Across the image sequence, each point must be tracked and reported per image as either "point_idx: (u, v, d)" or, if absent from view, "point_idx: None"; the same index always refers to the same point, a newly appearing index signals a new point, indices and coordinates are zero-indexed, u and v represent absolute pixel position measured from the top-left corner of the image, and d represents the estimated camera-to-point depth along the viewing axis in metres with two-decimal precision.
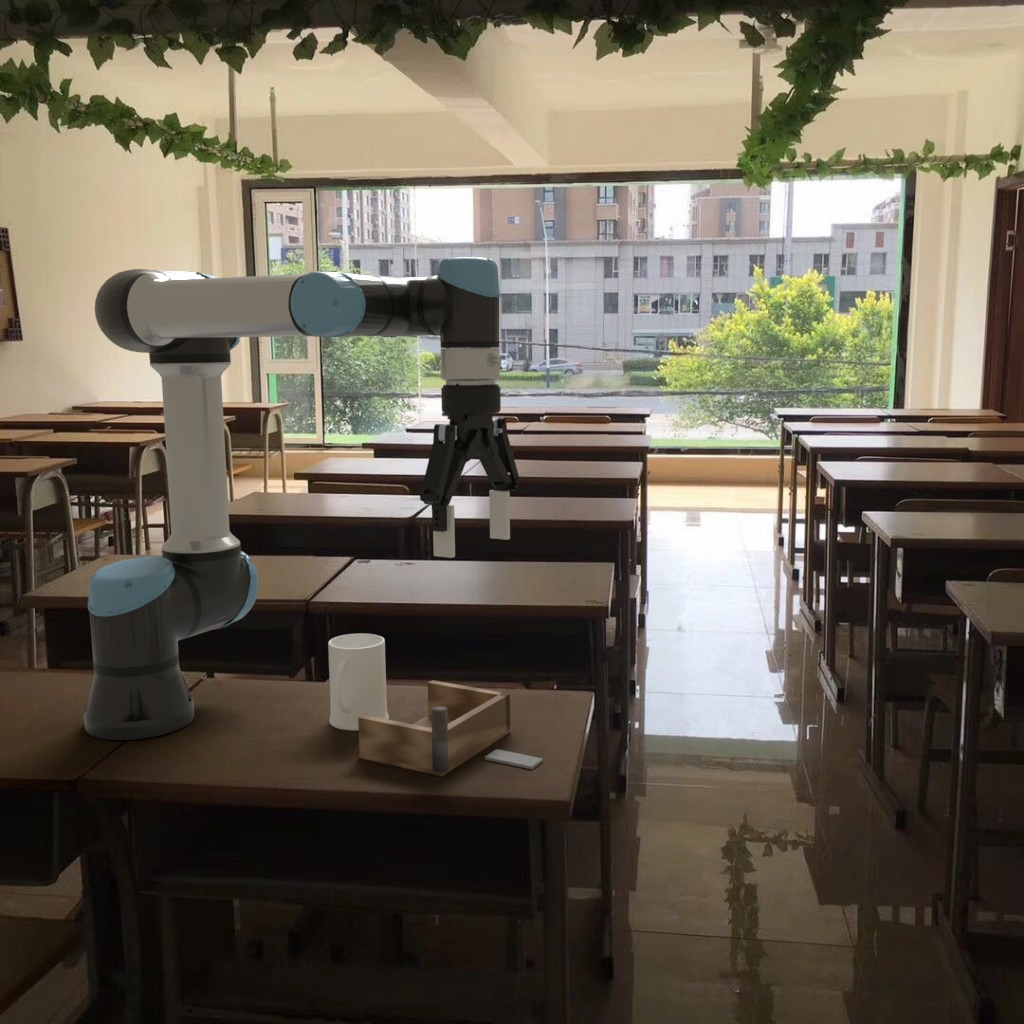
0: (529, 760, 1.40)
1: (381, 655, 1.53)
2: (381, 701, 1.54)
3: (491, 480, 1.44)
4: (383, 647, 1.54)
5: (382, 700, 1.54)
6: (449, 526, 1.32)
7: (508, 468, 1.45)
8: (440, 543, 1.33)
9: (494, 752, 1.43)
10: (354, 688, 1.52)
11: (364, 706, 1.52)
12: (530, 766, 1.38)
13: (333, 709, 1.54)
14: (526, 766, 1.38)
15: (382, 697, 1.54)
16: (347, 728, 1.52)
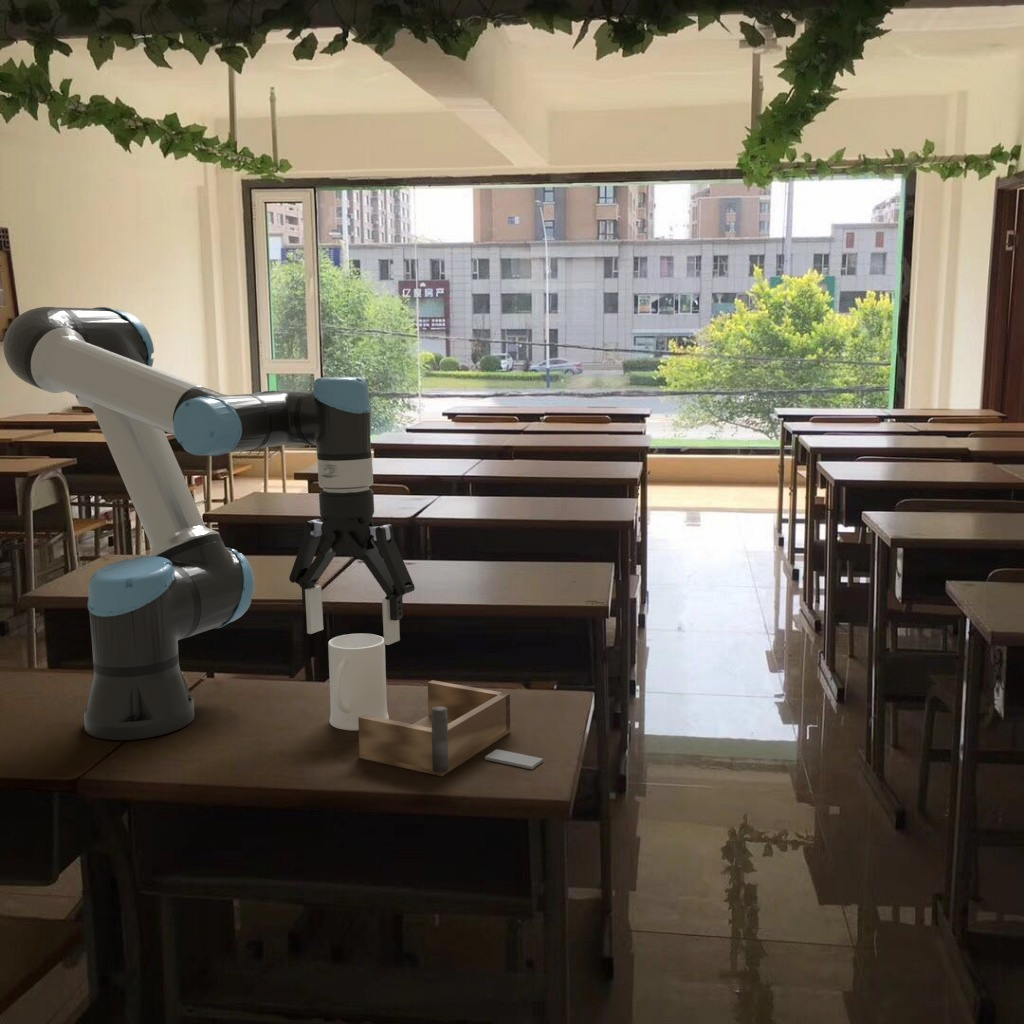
0: (529, 760, 1.40)
1: (381, 655, 1.53)
2: (381, 701, 1.54)
3: None
4: (383, 647, 1.54)
5: (382, 700, 1.54)
6: None
7: None
8: None
9: (494, 752, 1.43)
10: (354, 688, 1.52)
11: (364, 706, 1.52)
12: (530, 766, 1.38)
13: (333, 709, 1.54)
14: (526, 766, 1.38)
15: (382, 697, 1.54)
16: (347, 728, 1.52)
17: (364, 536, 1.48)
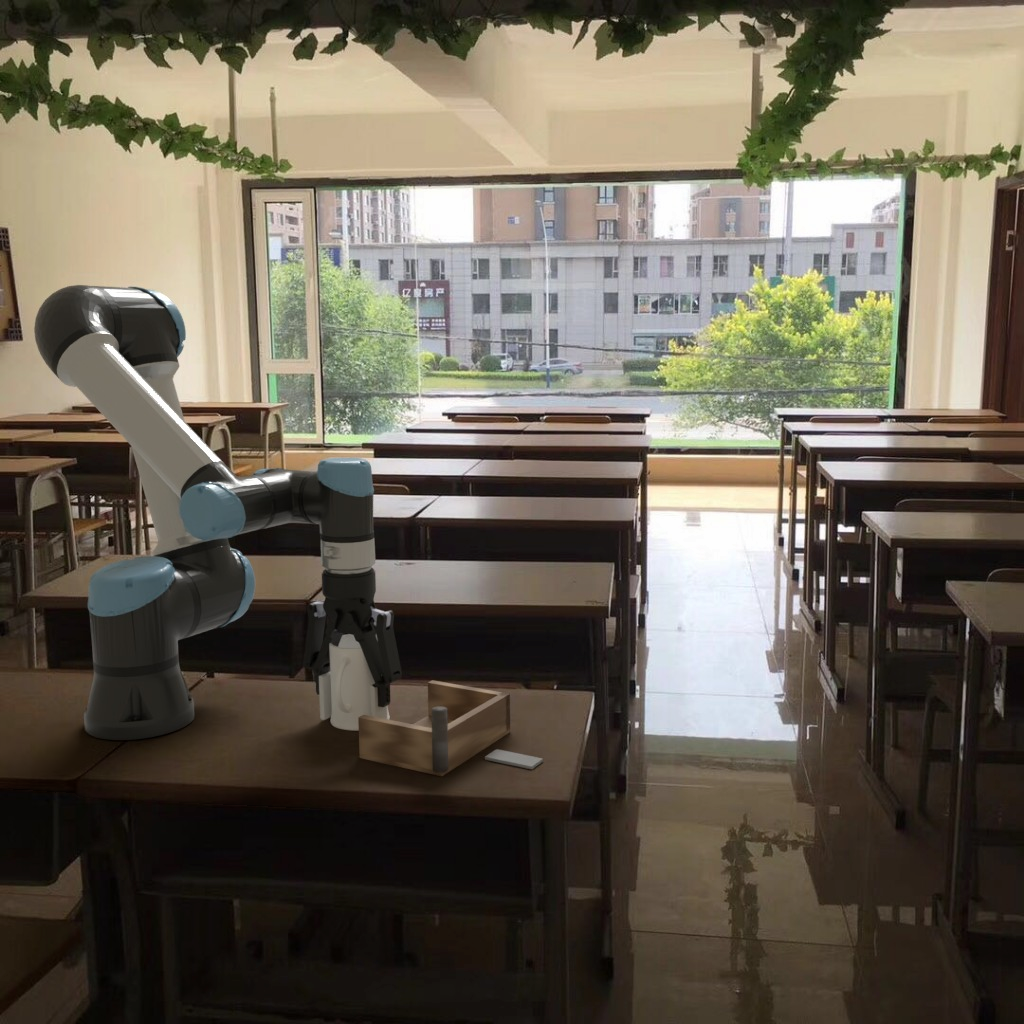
0: (529, 760, 1.40)
1: None
2: None
3: None
4: None
5: None
6: None
7: None
8: None
9: (494, 752, 1.43)
10: (355, 688, 1.51)
11: (365, 706, 1.52)
12: (530, 766, 1.38)
13: (334, 709, 1.54)
14: (526, 766, 1.38)
15: None
16: (348, 728, 1.52)
17: (365, 617, 1.50)
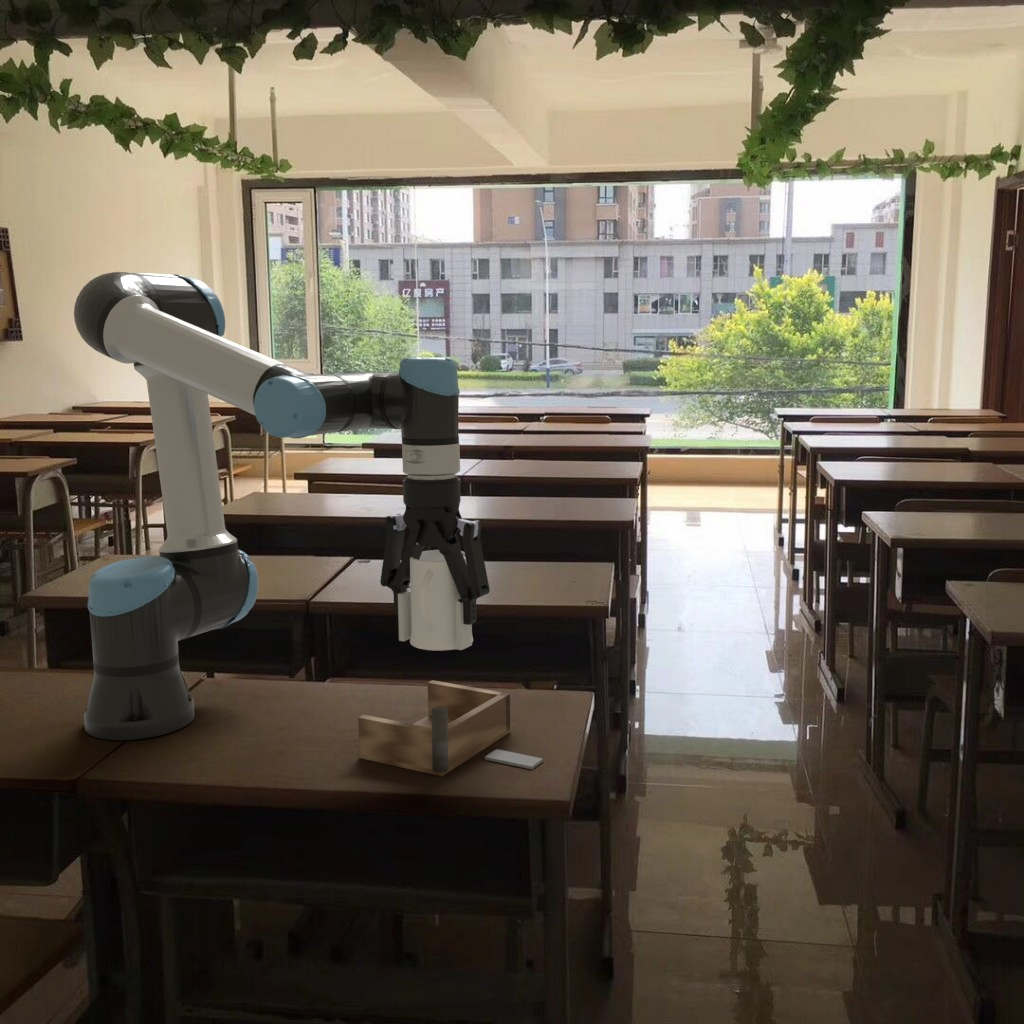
0: (529, 760, 1.40)
1: None
2: None
3: None
4: None
5: None
6: None
7: None
8: None
9: (494, 752, 1.43)
10: (439, 604, 1.41)
11: (450, 624, 1.42)
12: (530, 766, 1.38)
13: (415, 628, 1.43)
14: (526, 766, 1.38)
15: None
16: (431, 648, 1.42)
17: (450, 527, 1.39)
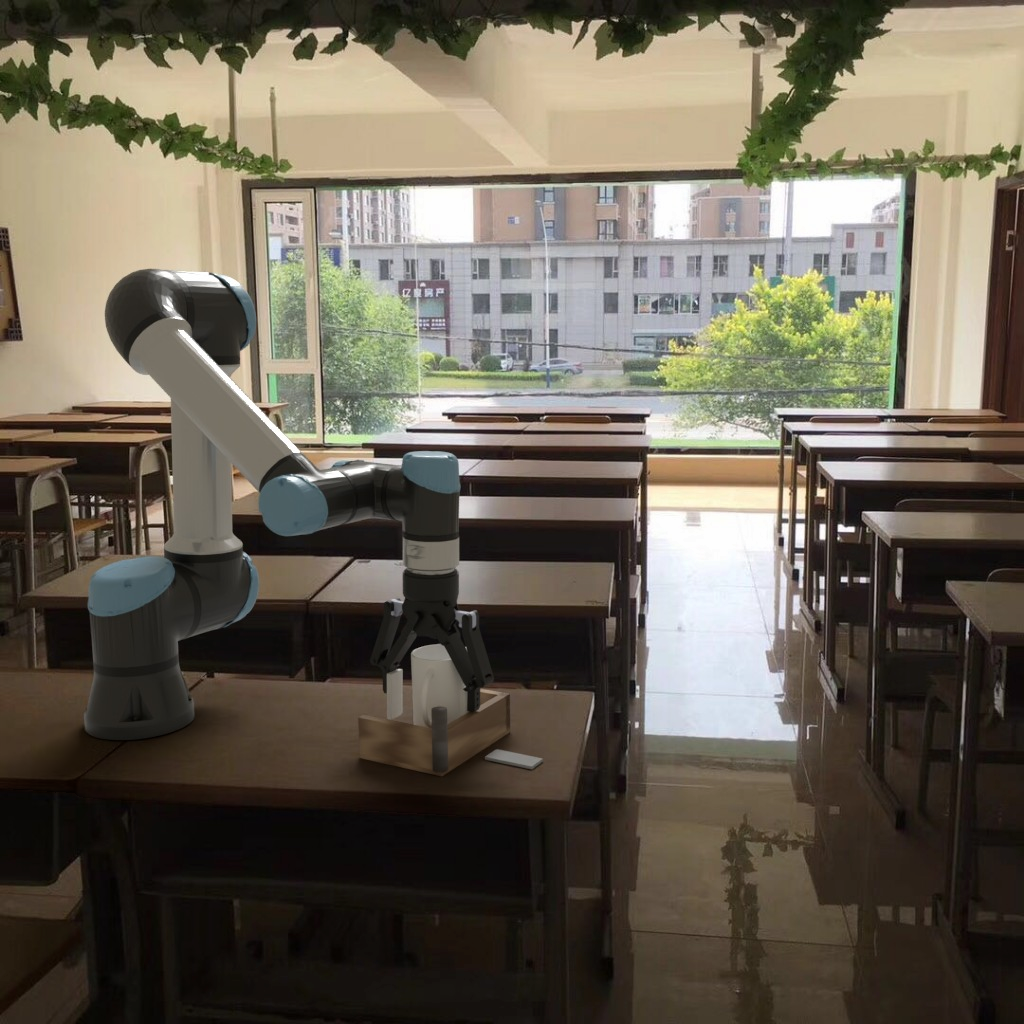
0: (529, 760, 1.40)
1: None
2: None
3: None
4: None
5: None
6: None
7: None
8: None
9: (494, 752, 1.43)
10: (440, 702, 1.43)
11: (451, 721, 1.44)
12: (530, 766, 1.38)
13: (417, 724, 1.45)
14: (526, 766, 1.38)
15: None
16: None
17: (448, 620, 1.42)
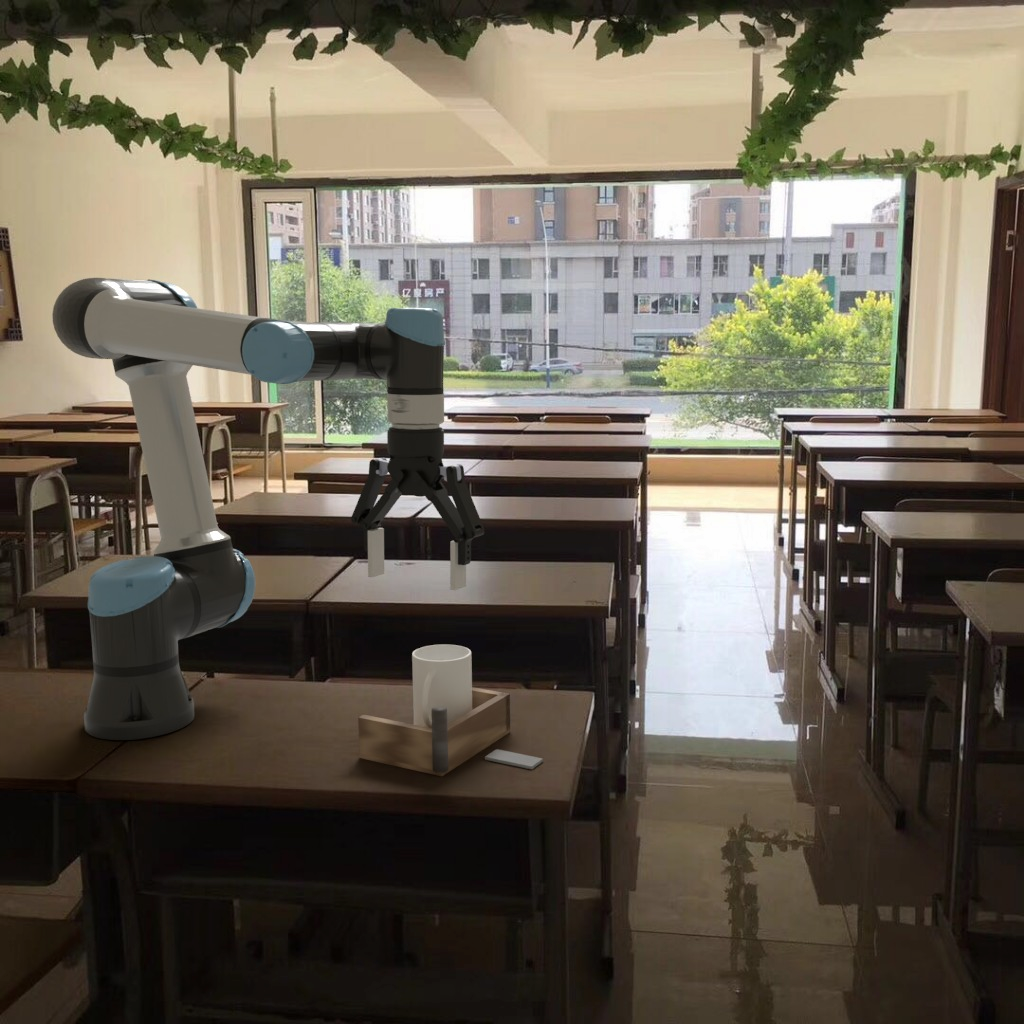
0: (529, 760, 1.40)
1: (469, 668, 1.45)
2: None
3: None
4: (470, 659, 1.46)
5: None
6: None
7: None
8: None
9: (494, 752, 1.43)
10: (441, 703, 1.43)
11: None
12: (530, 766, 1.38)
13: (417, 724, 1.45)
14: (526, 766, 1.38)
15: None
16: None
17: (433, 476, 1.41)
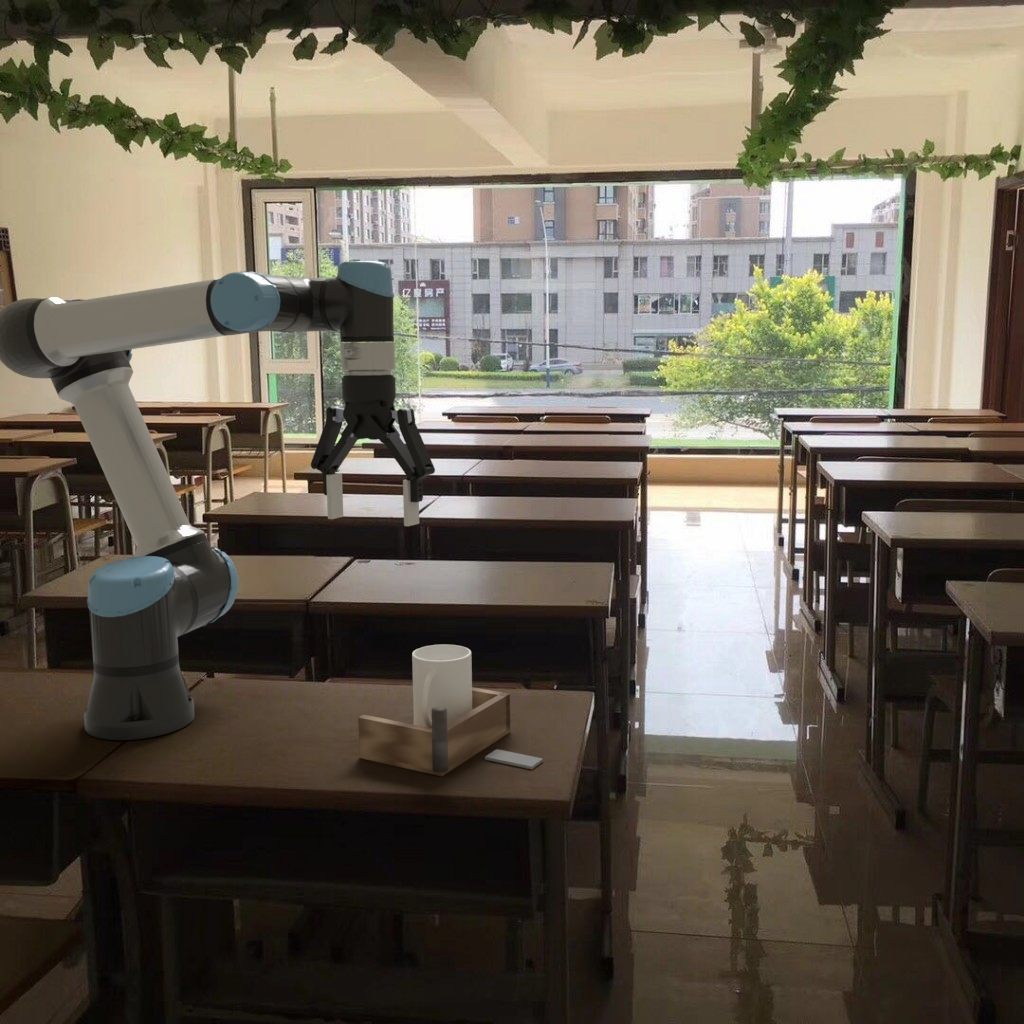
0: (529, 760, 1.40)
1: (469, 668, 1.45)
2: None
3: None
4: (470, 659, 1.46)
5: None
6: None
7: None
8: None
9: (494, 752, 1.43)
10: (441, 703, 1.43)
11: None
12: (530, 766, 1.38)
13: (417, 724, 1.45)
14: (526, 766, 1.38)
15: None
16: None
17: (386, 419, 1.51)
